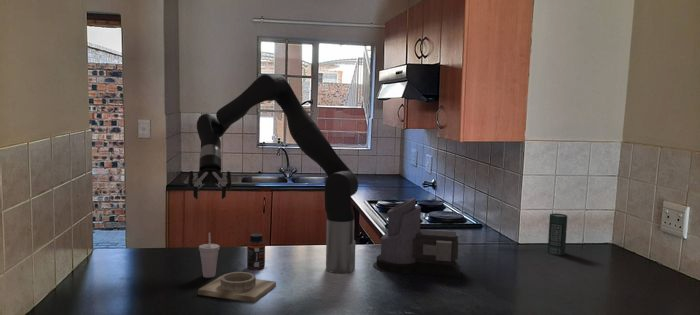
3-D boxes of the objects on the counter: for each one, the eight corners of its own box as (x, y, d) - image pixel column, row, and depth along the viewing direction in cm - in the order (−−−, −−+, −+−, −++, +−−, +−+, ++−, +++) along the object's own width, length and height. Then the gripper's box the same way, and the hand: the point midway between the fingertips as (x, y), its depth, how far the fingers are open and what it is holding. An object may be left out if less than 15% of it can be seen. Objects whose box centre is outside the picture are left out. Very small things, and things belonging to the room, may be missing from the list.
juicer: (369, 271, 178) (371, 199, 176) (376, 258, 194) (378, 192, 192) (460, 279, 172) (463, 204, 170) (460, 265, 188) (463, 196, 186)
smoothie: (201, 280, 165) (201, 235, 164) (196, 274, 171) (196, 231, 169) (221, 277, 168) (221, 234, 167) (216, 271, 174) (216, 229, 172)
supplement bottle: (261, 271, 175) (261, 237, 174) (244, 269, 177) (244, 236, 176) (267, 265, 181) (267, 233, 180) (251, 264, 182) (251, 232, 181)
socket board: (275, 286, 161) (276, 273, 160) (255, 302, 147) (255, 288, 147) (222, 279, 166) (222, 267, 165) (198, 294, 152) (198, 281, 152)
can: (566, 252, 208) (568, 214, 206) (562, 255, 203) (565, 217, 201) (549, 249, 211) (552, 212, 210) (546, 253, 206) (548, 215, 205)
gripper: (189, 153, 184) (187, 191, 174) (231, 153, 187) (231, 191, 177) (189, 166, 190) (188, 204, 180) (230, 166, 193) (231, 203, 183)
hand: (209, 197), depth 178 cm, fingers open, 8 cm apart
